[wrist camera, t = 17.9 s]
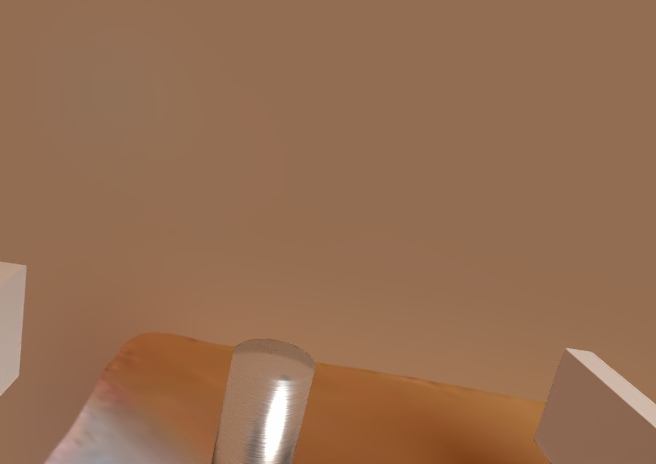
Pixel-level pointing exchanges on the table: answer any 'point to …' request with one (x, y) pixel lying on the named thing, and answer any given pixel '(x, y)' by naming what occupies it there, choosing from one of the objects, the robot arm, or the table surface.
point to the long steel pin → (263, 403)
